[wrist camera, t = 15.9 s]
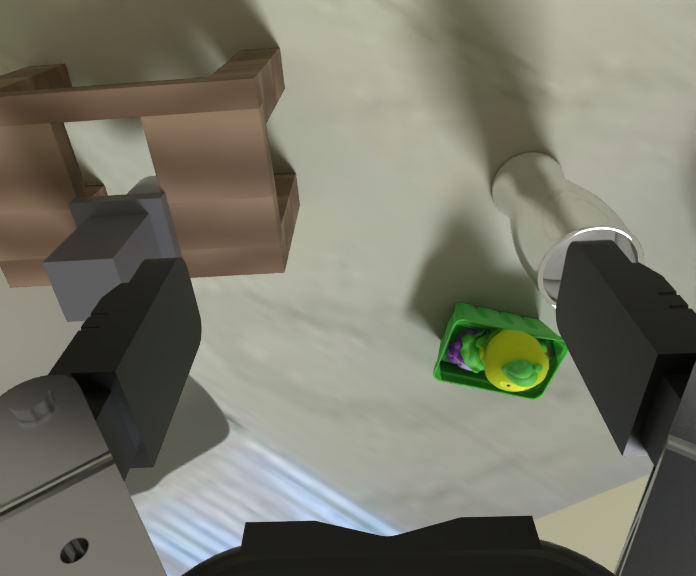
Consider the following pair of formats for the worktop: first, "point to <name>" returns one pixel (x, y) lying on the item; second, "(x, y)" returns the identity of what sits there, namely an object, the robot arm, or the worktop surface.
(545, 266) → the beer glass
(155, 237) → the keyhole peg
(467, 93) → the worktop surface
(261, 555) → the robot arm
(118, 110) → the shelf
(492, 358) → the fruit basket
